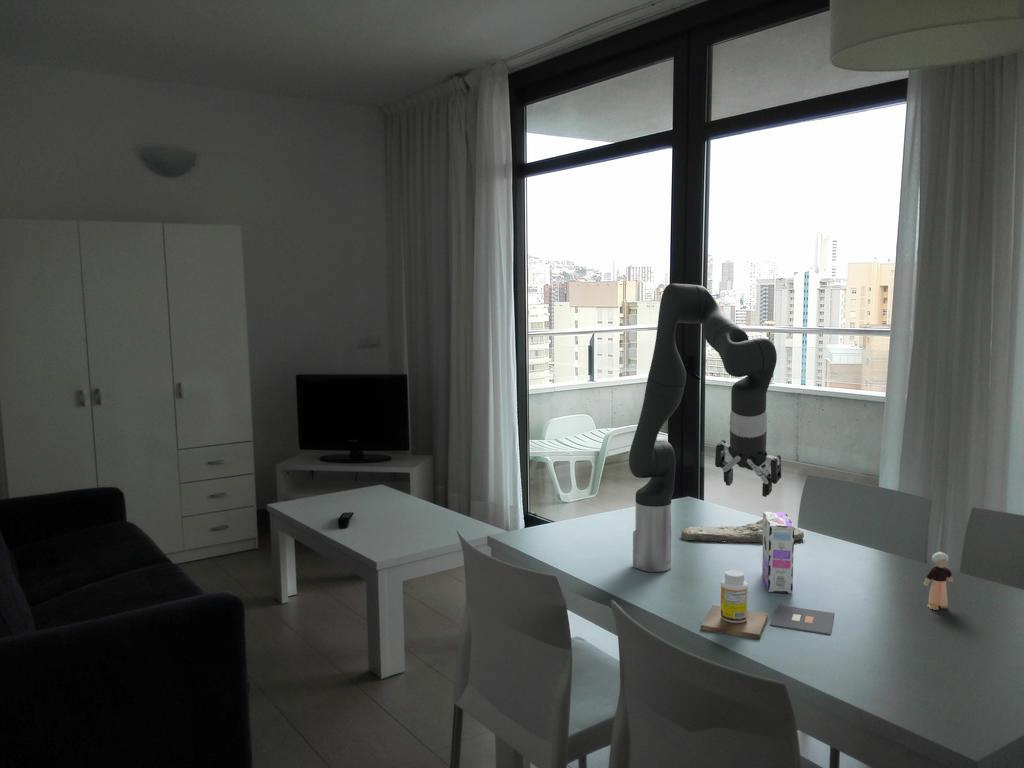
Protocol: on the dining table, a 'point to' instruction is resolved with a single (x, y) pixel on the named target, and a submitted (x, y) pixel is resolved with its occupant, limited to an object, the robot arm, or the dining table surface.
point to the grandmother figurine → (938, 582)
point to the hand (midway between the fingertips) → (747, 489)
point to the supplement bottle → (734, 597)
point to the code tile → (803, 619)
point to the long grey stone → (731, 533)
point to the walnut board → (735, 624)
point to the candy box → (778, 552)
